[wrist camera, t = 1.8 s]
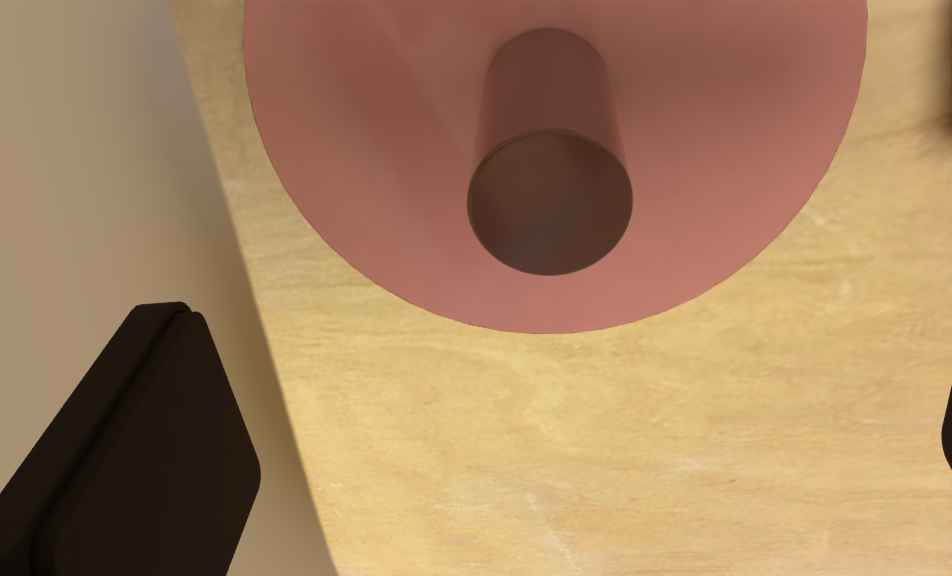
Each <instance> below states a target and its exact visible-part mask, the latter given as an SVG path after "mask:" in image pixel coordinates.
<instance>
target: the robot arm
mask: <svg viewBox="0 0 952 576" xmlns="http://www.w3.org/2000/svg"><path fill="white" fill-rule="evenodd" d="M941 435H942V446H943V451H944V454H945V457H946V459H947V462H948V463H949V465H950V467H951V469H952V387H951V391H950V395H949V400H948V404H947V409H946V413H945V417H944V422H943V426H942V433H941ZM260 479H261V471H260V464H259V460H258V457H257V455H256V452H255V449H254V447H253V444H252V442H251V439H250V436H249V433H248V431H247V428H246V426H245V423H244V420H243V418H242V415H241V413H240V410H239V407H238V404H237V402H236V399H235V397H234V394H233V391H232V389H231V386H230V384H229V381H228V378H227V376H226V373H225V370H224V368H223V365H222V362H221V360H220V357H219V354H218V352H217V349H216V347H215V344H214V341H213V339H212V336H211V333H210V331H209V328H208V325H207V323H206V321H205V319H204V317H203V315H202V314H201V313H199V312H192V311H191V309H190V308H189V307H188V306H187V305H186V304H185V303H183V302H168V303H154V304H141V305H137V306H136V307H135V308H134V309H132V310H131V312H130V313H129V314H128V316H127V317H126V319H125V320H124V322H123V323H122V324H121V326H120V327H119V328H118V330H117V331H116V333H115V334H114V335H113V337H112V338H111V340H110V341H109V343H108V344H107V345H106V347H105V348H104V349H103V351H102V352H101V354H100V355H99V356H98V358H97V359H96V361H95V362H94V363H93V365H92V366H91V367H90V369H89V370H88V372H87V373H86V374H85V376H84V377H83V379H82V380H81V381H80V383H79V384H78V386H77V387H76V389H75V390H74V391H73V393H72V394H71V395H70V397H69V398H68V400H67V401H66V402H65V404H64V405H63V407H62V408H61V409H60V411H59V412H58V414H57V415H56V416H55V418H54V419H53V421H52V422H51V423H50V425H49V426H48V428H47V429H46V431H45V432H44V433H43V435H42V436H41V437H40V439H39V440H38V441H37V443H36V444H35V446H34V447H33V448H32V450H31V451H30V453H29V454H28V456H27V457H26V458H25V460H24V461H23V463H22V464H21V465H20V467H19V468H18V470H17V471H16V472H15V474H14V475H13V476H12V478H11V479H10V481H9V482H8V483H7V485H6V486H5V488H4V489H3V490H2V492H1V493H0V576H226V574H227V572H228V569H229V566H230V564H231V561H232V558H233V555H234V553H235V550H236V548H237V545H238V543H239V540H240V537H241V535H242V532H243V529H244V527H245V524H246V521H247V519H248V516H249V513H250V510H251V508H252V505H253V503H254V500H255V498H256V495H257V493H258V490H259V486H260Z"/></svg>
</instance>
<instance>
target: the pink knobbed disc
mask: <svg viewBox="0 0 952 576" xmlns="http://www.w3.org/2000/svg"><path fill="white" fill-rule="evenodd" d="M867 18H868V12H867V1H866V0H245V4H244V28H243V51H244V62H245V73H246V83H247V88H248V92H249V97H250V101H251V106H252V110H253V115H254V119H255V122H256V125H257V128H258V131H259V133H260V136H261V139H262V142H263V144H264V147H265V150H266V153H267V155H268V157H269V159H270V161H271V163H272V165H273V167H274V169H275V171H276V173H277V175H278V177H279V179H280V181H281V183H282V185H283V187H284V188H285V190H286V191H287V193H288V194H289V196H290V197H291V199H292V200H293V202H294V203H295V205H296V206H297V208H298V209H299V211H300V212H301V214H302V215H303V216H304V218H305V219H306V220H307V221H308V222H309V223H310V225H311V226H312V227H313V228H314V229H315V230H316V232H317V233H318V234H319V235H320V236H321V237H322V238H323V240H324V241H325V242H326V243H327V244H328V245H329V246H330V247H331V248H332V249H334V250H335V251H336V252H337V253H338V254H339V255H340V256H341V257H342V258H343V259H344V260H346V261H347V262H348V263H349V264H350V265H351V266H352V267H354V268H355V269H356V270H358V271H359V272H361V273H362V274H363V275H365V276H366V277H367V278H369V279H370V280H372V281H373V282H374V283H376V284H377V285H379V286H380V287H382V288H384V289H386V290H387V291H389V292H391V293H393V294H394V295H396V296H398V297H400V298H401V299H403V300H405V301H407V302H409V303H411V304H413V305H416V306H418V307H420V308H423V309H425V310H427V311H430V312H432V313H434V314H436V315H439V316H442V317H446V318H449V319H452V320H455V321H459V322H462V323H465V324H468V325H473V326H478V327H483V328H488V329H493V330H498V331H506V332H517V333H528V334H568V333H576V332H585V331H593V330H601V329H606V328H610V327H614V326H619V325H623V324H627V323H632V322H636V321H638V320H641V319H644V318H647V317H650V316H653V315H656V314H659V313H662V312H665V311H667V310H670V309H672V308H674V307H676V306H678V305H680V304H682V303H685V302H687V301H689V300H691V299H693V298H695V297H697V296H699V295H701V294H703V293H704V292H706V291H708V290H709V289H711V288H712V287H714V286H716V285H717V284H719V283H721V282H722V281H724V280H726V279H727V278H729V277H730V276H732V275H733V274H734V273H735V272H737V271H738V270H739V269H741V268H742V267H743V266H745V265H746V264H747V263H748V262H750V261H751V260H752V259H754V258H755V257H756V256H757V255H759V254H760V253H761V252H762V251H763V250H764V249H765V248H766V247H767V246H768V245H769V244H770V243H771V242H772V241H773V240H774V239H775V238H776V237H777V236H778V235H779V234H780V233H781V232H782V231H783V230H784V229H785V228H786V227H787V226H788V224H789V223H790V222H791V221H792V220H793V218H794V217H795V216H796V215H797V213H798V212H799V211H800V210H801V209H802V207H803V206H804V205H805V204H806V203H807V201H808V200H809V198H810V197H811V195H812V194H813V192H814V190H815V189H816V187H817V186H818V184H819V183H820V181H821V180H822V178H823V176H824V175H825V173H826V172H827V170H828V168H829V166H830V164H831V162H832V160H833V158H834V156H835V154H836V152H837V150H838V148H839V145H840V143H841V141H842V139H843V137H844V135H845V132H846V129H847V126H848V123H849V120H850V117H851V114H852V111H853V108H854V105H855V102H856V99H857V96H858V91H859V86H860V81H861V76H862V71H863V66H864V60H865V54H866V36H867Z"/></svg>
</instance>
